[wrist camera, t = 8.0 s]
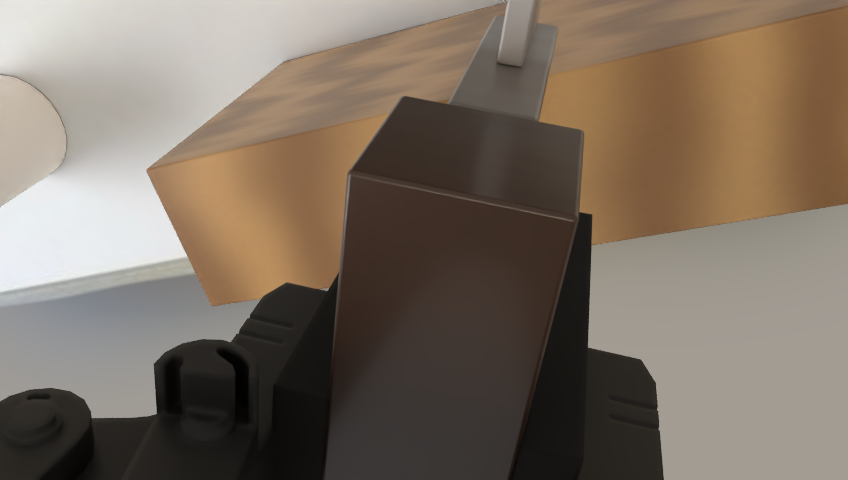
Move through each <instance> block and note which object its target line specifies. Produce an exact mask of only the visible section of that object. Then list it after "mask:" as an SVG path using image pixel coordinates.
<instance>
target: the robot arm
mask: <svg viewBox="0 0 848 480" xmlns="http://www.w3.org/2000/svg"><path fill="white" fill-rule="evenodd" d="M592 216H593V215H592V214H587V213H582V212H579V222H578V226H577V229H576V233H575V237H574V241H573V245H572V249H571V253H570V256H569V260H568V264H567V268H566V272H565V276H564V280H563V284H562V287H561V291H560V295H559V299H558V303H557V307H556V311H555V314H554V318H553V322H552V326H551V330H550V334H549V338H548V342H547V345H546V349H545V353H544V357H543V361H542V365H541V369H540V372H539V376H538V380H537V384H536V388H535V392H534V396H533V400H532V403H531V407H530V411H529V415H528V419H527V423H526V427H525V430H524V434H523V438H522V442H521V446H520V450H519V454H518V458H517V461H516V465H515V469H514V473H513V477H512V480H664V477H663V465H662V453H661V441H660V431H659V430H658V428H659V417H658V411H657V407H658V406H657V394H656V383H655V381H654V380H653V378H652V376H651V375H650V373H649V372H648V370H647V369H646V367H645V365H644V364H643V362H642V361H641V360H640V359H636V358H631V357H627V356H622V355H618V354H614V353H609V352H604V351H600V350H596V349H591V348H588V326H589V325H588V324H589V298H590V270H591V243H592ZM338 278H339V272H338V274H337V276H336V278H335V279H334V281H333V283H332V285H331V286H330V288H329V290H328V291H324V290H319V289H315V288H310V287H306V286H302V285H297V284H293V283H288V282H286V283H284V284H283V285H281V286H279V287H278V288H276V289H274V290H273V291H271V292H269V293H268V294H266V295H264V296H263V297H262V299H261V300H260V302H259V303H258V304H257V306H256V307H255V309H254V310H253V312H252V313H251V314H250V318H249V319H247V320H246V322H245V323H244V325H243V326H242V327H241V329H240V331H239V334H236V336H235V337H234V339H233V340H232V342H227V341H224V340H206V339H203V340H197V341H192V342H187V343H183V344H181V345H179V346H177V347H175V348H173V349H171V350H169V351H167V352H165V353H164V354H163V355H162V356H161V357H160V358H159V359H158V360H157V362H155V364H154V374H155V389H156V405H157V414H156V415H152V416H148V417H137V418H91V411H90V410H89V408H88V406H87V404H86V402H85V400H84V399H82V398H80V397H79V396H77V395H76V394H74V393H72V392H70V391H65V390H60V389H54V388H46V389H33V390H28V391H25V392H22V393H18V394H15V395H12V396H9V397H7V398H6V399H4V400H2V401H1V402H0V480H322V473H323V461H324V449H325V437H326V425H327V413H328V401H329V387H330V374H331V362H332V350H333V338H334V326H335V314H336V302H337V290H338Z"/></svg>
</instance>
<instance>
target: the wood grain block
mask: <svg viewBox="0 0 848 480" xmlns="http://www.w3.org/2000/svg"><path fill="white" fill-rule="evenodd" d="M506 6H507V2H505V3H502V4H498V5H494V6H490V7H487V8H483V9H479V10H475V11H472V12H468V13H464V14H460V15H457V16H453V17H449V18H445V19H442V20H438V21H434V22H431V23H427V24H423V25H419V26H416V27H412V28H408V29H404V30H401V31H397V32H393V33H389V34H386V35H382V36H378V37H374V38H371V39H367V40H363V41H359V42H356V43H352V44H348V45H344V46H341V47H337V48H333V49H329V50H326V51H322V52H318V53H315V54H311V55H307V56H303V57H300V58H296V59H292V60H288V61H285V62H283V63H282V64H280V65H279V66H278V67H276V68H275V69H274V70H273V71H271V72H270V73H269V74H268V75H266V76H265V77H264V78H262V79H261V80H260V81H259V82H257V83H256V84H255V85H253V86H252V87H251V88H250V89H248V90H247V91H246V92H245V93H243V94H242V95H241V96H239V97H238V98H237V99H236V100H234V101H233V102H232V103H231V104H229V105H228V106H227V107H225V108H224V109H223V110H222V111H220V112H219V113H218V114H217V115H215V116H214V117H213V118H211V119H210V120H209V121H208V122H206V123H205V124H204V125H203V126H201V127H200V128H199V129H197V130H196V131H195V132H194V133H192V134H191V135H190V136H189V137H187V138H186V139H185V140H183V141H182V142H181V143H180V144H178V145H177V146H176V147H175V148H173V149H172V150H171V151H169V152H168V153H167V154H166V155H164V156H163V157H162V158H161V159H159V160H158V161H157V162H155V163H154V164H153V165H152V166H150V167H149V168H148V169H147V173H148V175H149V177H150V180H151V182H152V184H153V186H154V188H155V190H156V192H157V194H158V196H159V198H160V200H161V202H162V204H163V206H164V209H165V211H166V213H167V215H168V217H169V219H170V221H171V223H172V225H173V227H174V229H175V231H176V233H177V235H178V237H179V240H180V242H181V244H182V246H183V248H184V250H185V252H186V254H187V256H188V258H189V260H190V262H191V264H192V266H193V269H194V271H195V273H196V275H197V277H198V279H199V281H200V283H201V285H202V287H203V289H204V291H205V293H206V295H207V297H208V300H209V302H210V304H211V305H212V306H218V305H224V304H230V303H236V302H242V301H249V300H255V299H261V298H262V297H263V296H264V295H266V294H268V293H269V292H271V291H273V290H274V289H276V288H278V287H279V286H281V285H283V284H284V283H286V282H288V283H293V284H297V285H302V286H306V287H310V288H315V289H323V288H330V286H331V285H332V283H333V281H334V279H335V278H336V276H337V274H338V272H339V266H340V254H341V242H342V230H343V218H344V206H345V194H346V182H347V173H348V171H349V169H350V168H351V167H352V165H353V164H354V162H355V161H356V160H357V158H358V157H359V155H360V154H361V153H362V151H363V150H364V148H365V147H366V146H367V144H368V143H369V141H370V140H371V139H372V137H373V136H374V134H375V133H376V132H377V130H378V129H379V127H380V126H381V124H382V123H383V122H384V120H385V119H386V117H387V116H388V115H389V113H390V112H391V110H392V109H393V108H394V106H395V105H396V103H397V102H398V101H399V99H400V98H401V96H409V97H414V98H419V99H424V100H429V101H435V102H440V103H445V104H448V102H449V100H450V98H451V96H452V94H453V92H454V91H455V89H456V87H457V85H458V83H459V81H460V80H461V78H462V76H463V74H464V72H465V70H466V68H467V67H468V65H469V63H470V61H471V59H472V57H473V55H474V54H475V52H476V50H477V48H478V46H479V44H480V42H481V41H482V39H483V37H484V35H485V33H486V31H487V29H488V28H489V26H490V24H491V22H492V20H493V18H494V17H495V16H503V17H505V11H506ZM537 23H542V24H548V25H553V26H556V27H558V34H557V38H556V43H555V48H554V53H553V57H552V62H551V67H550V71H549V76H548V81H547V85H546V90H545V95H544V99H543V104H542V109H541V113H540V118H539V122H544V123H549V124H554V125H559V126H564V127H570V128H575V129H580V130H582V131H584V150H583V165H582V179H581V194H580V209H579V212H582V213H587V214H592V215H593V216H592V243H591V245H596V244H602V243H608V242H614V241H620V240H627V239H632V238H639V237H645V236H651V235H658V234H664V233H670V232H676V231H682V230H688V229H695V228H701V227H707V226H713V225H719V224H726V223H732V222H738V221H744V220H750V219H757V218H763V217H769V216H775V215H781V214H787V213H793V212H800V211H806V210H812V209H819V208H825V207H831V206H836V205H843V204H848V0H542V1H541V6H540V11H539V16H538V21H537Z"/></svg>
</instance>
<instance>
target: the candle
mask: <svg viewBox="0 0 848 480" xmlns="http://www.w3.org/2000/svg"><path fill="white" fill-rule="evenodd" d="M66 146H67V141H66V134H65V129H64V126H63V124H62V121H61V119H60V116H59V115H58V113H57V112H56V110H55V109H54V107H53V105H52V104H51V103H50V102H49V101H48V100H47V99H46V97H45V96H44V95H43V94H42V93H41V92H40V91H38V90H37V89H35V88H34V87H33V86H31V85H30V84H28V83H26V82H24V81H22V80H20V79H17V78H15V77H10V76H4V75H0V207H1V206H2V205H4V204H5V203H7V202H8V201H10V200H12V199H13V198H15V197H16V196H18V195H19V194H21V193H22V192H24V191H25V190H27V189H28V188H30V187H31V186H33V185H34V184H36V183H37V182H39V181H40V180H42V179H43V178H45V177H46V176H48V175H49V174H51V173H52V172H54V171H55V170H56V169H57V168H58V167H59V166H60V165H61V163H62V161H63V159H64V157H65V154H66Z"/></svg>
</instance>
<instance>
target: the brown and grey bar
mask: <svg viewBox="0 0 848 480" xmlns="http://www.w3.org/2000/svg"><path fill="white" fill-rule="evenodd" d="M541 1H542V0H507V6H506V11H505V17H503V16H495V17H494V18H493V20H492V22H491V24H490V26H489V28H488V29H487V31H486V33H485V35H484V37H483V39H482V41H481V42H480V44H479V46H478V48H477V50H476V52H475V54H474V55H473V57H472V59H471V61H470V63H469V65H468V67H467V68H466V70H465V72H464V74H463V76H462V78H461V80H460V81H459V83H458V85H457V87H456V89H455V91H454V92H453V94H452V96H451V98H450V100H449V102H448V104H445V103H440V102H435V101H429V100H424V99H419V98H414V97H409V96H401V98H400V99H399V101H398V102H397V103H396V105H395V106H394V108H393V109H392V110H391V112H390V113H389V115H388V116H387V117H386V119H385V120H384V122H383V123H382V124H381V126H380V127H379V129H378V130H377V132H376V133H375V134H374V136H373V137H372V139H371V140H370V141H369V143H368V144H367V146H366V147H365V148H364V150H363V151H362V153H361V154H360V155H359V157H358V158H357V160H356V161H355V162H354V164H353V165H352V167H351V168H350V169H349V171H348V173H347V182H346V194H345V206H344V218H343V230H342V242H341V254H340V266H339V278H338V290H337V302H336V314H335V326H334V338H333V350H332V362H331V374H330V387H329V401H328V413H327V425H326V437H325V449H324V461H323V473H322V480H512V477H513V473H514V469H515V465H516V461H517V458H518V454H519V450H520V446H521V442H522V438H523V434H524V430H525V427H526V423H527V419H528V415H529V411H530V407H531V403H532V400H533V396H534V392H535V388H536V384H537V380H538V376H539V372H540V369H541V365H542V361H543V357H544V353H545V349H546V345H547V342H548V338H549V334H550V330H551V326H552V322H553V318H554V314H555V311H556V307H557V303H558V299H559V295H560V291H561V287H562V284H563V280H564V276H565V272H566V268H567V264H568V260H569V256H570V253H571V249H572V245H573V241H574V237H575V233H576V229H577V226H578V222H579V209H580V194H581V179H582V165H583V150H584V131H582V130H580V129H575V128H570V127H564V126H559V125H554V124H549V123H544V122H539V118H540V113H541V109H542V104H543V99H544V95H545V90H546V85H547V81H548V76H549V71H550V67H551V62H552V57H553V53H554V48H555V43H556V38H557V34H558V27H556V26H553V25H548V24H542V23H537V21H538V16H539V11H540V6H541Z"/></svg>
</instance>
